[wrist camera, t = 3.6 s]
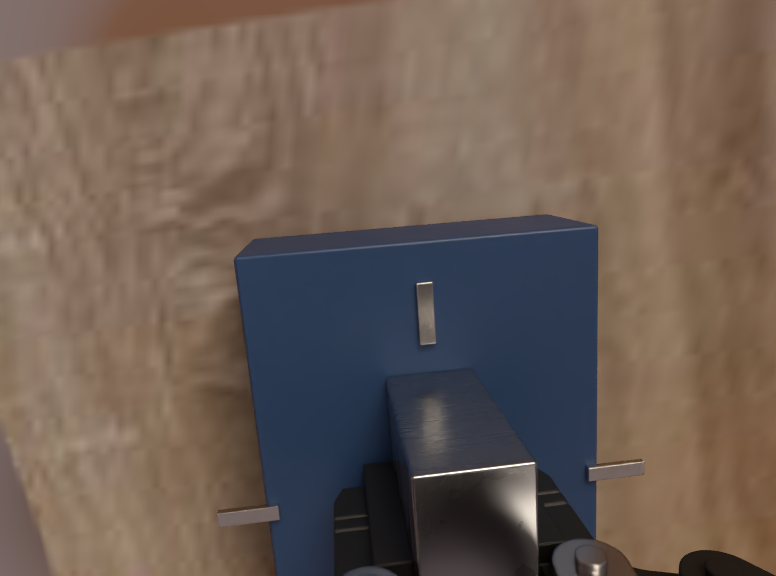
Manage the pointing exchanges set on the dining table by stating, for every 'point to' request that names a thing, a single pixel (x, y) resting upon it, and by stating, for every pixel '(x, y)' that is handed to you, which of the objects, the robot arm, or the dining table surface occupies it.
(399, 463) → the toggle switch lever
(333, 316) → the toggle switch base
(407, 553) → the robot arm
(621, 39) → the dining table surface
